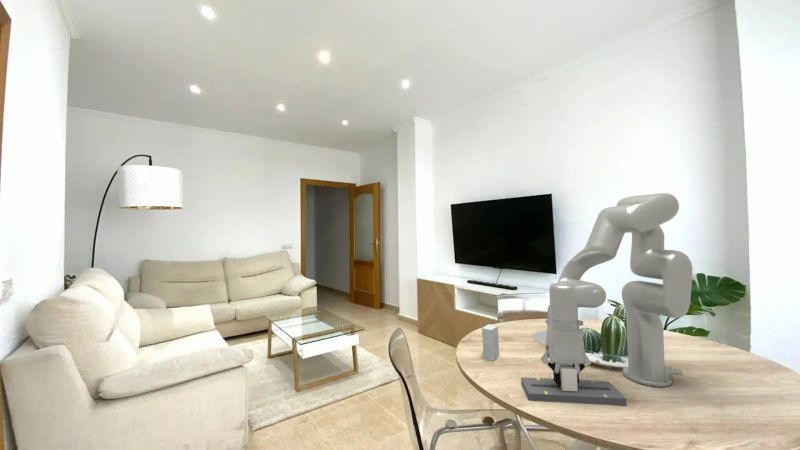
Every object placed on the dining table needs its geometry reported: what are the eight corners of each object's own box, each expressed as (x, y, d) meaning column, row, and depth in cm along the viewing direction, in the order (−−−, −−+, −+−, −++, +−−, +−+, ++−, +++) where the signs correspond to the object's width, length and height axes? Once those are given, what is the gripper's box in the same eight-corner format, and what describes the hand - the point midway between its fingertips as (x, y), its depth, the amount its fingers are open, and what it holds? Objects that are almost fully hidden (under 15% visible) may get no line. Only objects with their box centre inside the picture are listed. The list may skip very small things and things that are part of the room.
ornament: (584, 348, 129) (582, 307, 129) (558, 352, 125) (557, 311, 125) (544, 331, 150) (543, 297, 150) (521, 335, 146) (520, 299, 146)
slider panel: (608, 387, 97) (608, 380, 97) (626, 405, 87) (626, 398, 87) (521, 383, 101) (521, 376, 101) (528, 400, 91) (528, 393, 91)
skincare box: (489, 353, 126) (488, 323, 126) (499, 356, 123) (498, 325, 123) (482, 358, 121) (481, 327, 121) (493, 361, 118) (492, 329, 118)
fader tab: (569, 381, 97) (569, 361, 97) (577, 391, 91) (577, 370, 91) (555, 380, 98) (555, 361, 98) (562, 390, 92) (562, 369, 92)
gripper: (588, 321, 97) (590, 380, 97) (531, 320, 99) (533, 377, 99) (600, 328, 89) (602, 393, 89) (538, 327, 92) (540, 389, 92)
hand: (566, 384), depth 94 cm, fingers closed on fader tab, 4 cm apart
